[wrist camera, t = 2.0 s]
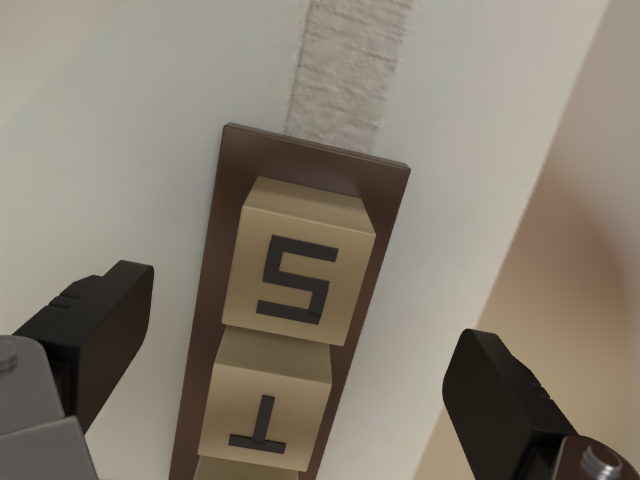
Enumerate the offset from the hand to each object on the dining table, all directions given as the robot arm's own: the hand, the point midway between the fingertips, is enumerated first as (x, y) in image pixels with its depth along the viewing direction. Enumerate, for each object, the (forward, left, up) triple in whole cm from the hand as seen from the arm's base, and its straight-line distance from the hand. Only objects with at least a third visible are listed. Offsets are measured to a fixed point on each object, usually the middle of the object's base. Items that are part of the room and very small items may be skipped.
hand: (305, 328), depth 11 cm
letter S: (0, 0, -6) cm, 6 cm away
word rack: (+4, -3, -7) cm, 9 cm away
